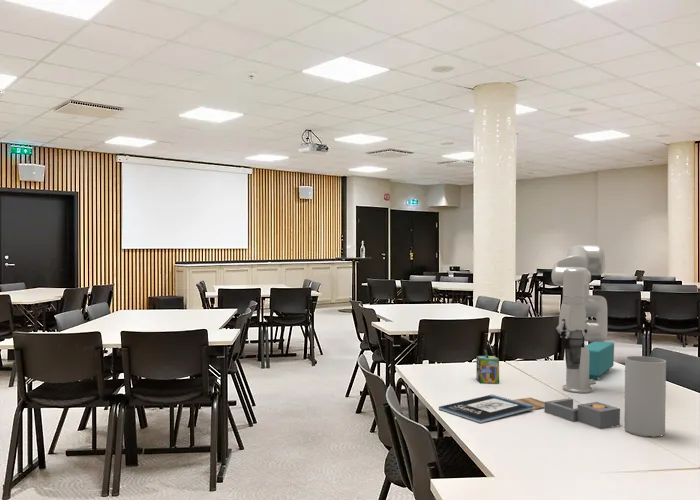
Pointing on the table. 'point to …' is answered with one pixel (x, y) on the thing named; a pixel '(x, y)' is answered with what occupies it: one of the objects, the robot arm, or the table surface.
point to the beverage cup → (574, 349)
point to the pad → (532, 403)
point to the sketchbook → (486, 408)
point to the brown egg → (598, 406)
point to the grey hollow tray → (584, 413)
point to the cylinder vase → (645, 395)
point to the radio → (600, 358)
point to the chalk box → (487, 369)
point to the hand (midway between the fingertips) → (572, 347)
